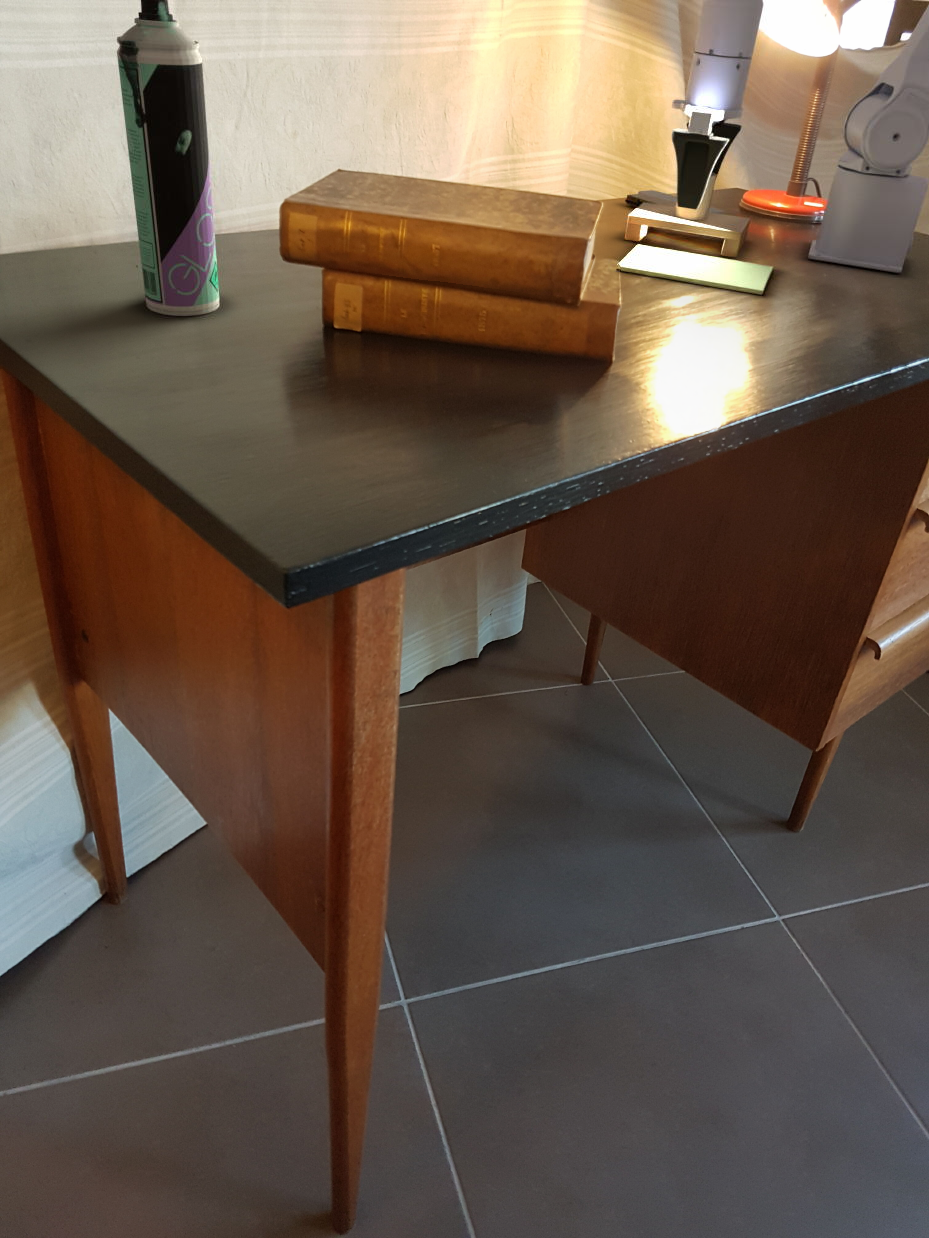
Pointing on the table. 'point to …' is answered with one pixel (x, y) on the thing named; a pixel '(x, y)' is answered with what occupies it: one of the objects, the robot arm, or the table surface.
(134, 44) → the spray can
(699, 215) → the spice bottle
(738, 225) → the small bench
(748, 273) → the mat
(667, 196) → the harmonica
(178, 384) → the table surface
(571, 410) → the table surface
